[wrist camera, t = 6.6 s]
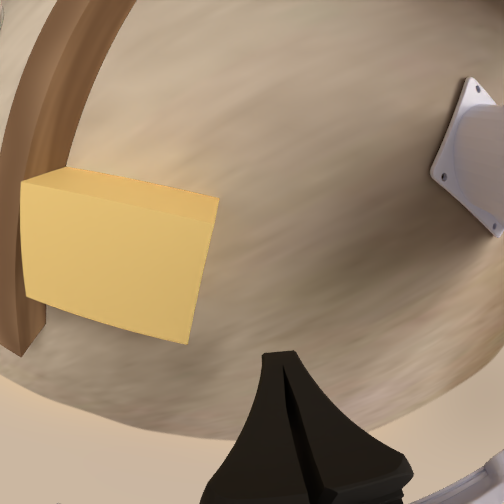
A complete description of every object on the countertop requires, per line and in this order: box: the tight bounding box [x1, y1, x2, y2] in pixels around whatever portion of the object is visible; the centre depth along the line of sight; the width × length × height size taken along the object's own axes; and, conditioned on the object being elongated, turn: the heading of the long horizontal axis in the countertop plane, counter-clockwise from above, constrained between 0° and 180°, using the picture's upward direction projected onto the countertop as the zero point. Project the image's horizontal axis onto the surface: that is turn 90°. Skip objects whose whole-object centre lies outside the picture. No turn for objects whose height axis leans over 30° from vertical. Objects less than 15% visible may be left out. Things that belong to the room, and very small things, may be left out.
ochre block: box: [20, 167, 219, 345], centre depth 13 cm, size 9×6×4 cm, turn 74°
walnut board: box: [0, 0, 136, 357], centre depth 11 cm, size 2×24×4 cm, turn 155°
